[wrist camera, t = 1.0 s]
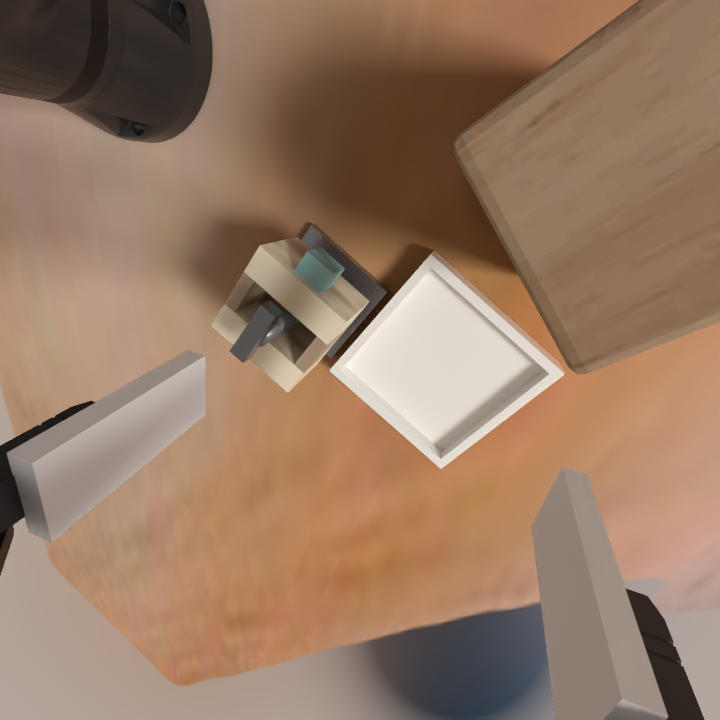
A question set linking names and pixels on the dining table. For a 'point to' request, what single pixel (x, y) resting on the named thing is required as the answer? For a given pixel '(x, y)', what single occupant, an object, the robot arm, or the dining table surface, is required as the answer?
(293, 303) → the collar
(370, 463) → the dining table surface
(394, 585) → the dining table surface
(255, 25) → the dining table surface
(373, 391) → the tray
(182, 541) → the dining table surface
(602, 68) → the wooden block
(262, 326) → the grey lever faucet
